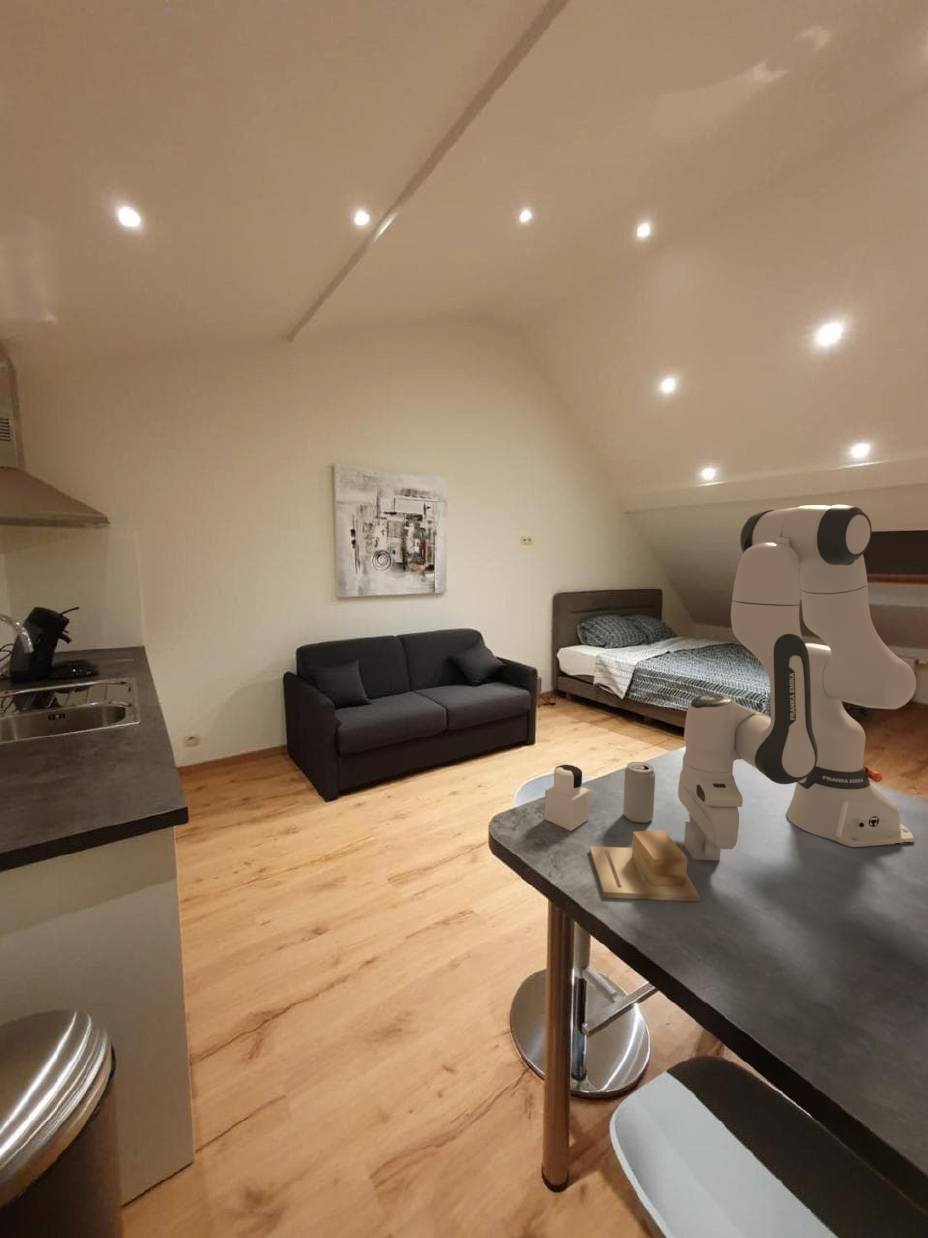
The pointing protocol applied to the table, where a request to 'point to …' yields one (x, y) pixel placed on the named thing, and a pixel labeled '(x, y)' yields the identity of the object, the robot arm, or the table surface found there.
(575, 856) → the table surface
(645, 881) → the plate
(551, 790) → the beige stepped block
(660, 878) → the oak block
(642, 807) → the beverage can
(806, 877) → the table surface
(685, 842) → the top cube
